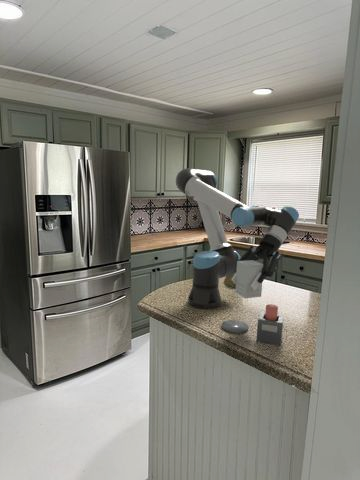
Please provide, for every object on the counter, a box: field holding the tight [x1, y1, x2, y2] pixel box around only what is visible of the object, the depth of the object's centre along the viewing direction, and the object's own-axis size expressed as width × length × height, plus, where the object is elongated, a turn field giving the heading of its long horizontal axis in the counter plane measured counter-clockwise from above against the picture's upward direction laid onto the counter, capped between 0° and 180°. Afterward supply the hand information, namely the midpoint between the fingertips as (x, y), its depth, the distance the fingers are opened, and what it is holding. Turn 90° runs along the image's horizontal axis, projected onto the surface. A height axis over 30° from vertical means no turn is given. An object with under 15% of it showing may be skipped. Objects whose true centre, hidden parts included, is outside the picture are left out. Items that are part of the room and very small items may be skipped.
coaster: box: [221, 319, 249, 335], centre depth 121 cm, size 10×10×1 cm
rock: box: [223, 274, 236, 289], centre depth 174 cm, size 11×9×10 cm
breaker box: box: [256, 311, 285, 346], centre depth 112 cm, size 8×7×8 cm
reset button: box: [264, 303, 279, 321], centre depth 111 cm, size 4×4×7 cm
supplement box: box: [234, 260, 263, 299], centre depth 121 cm, size 7×7×13 cm
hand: (242, 285), depth 119 cm, fingers closed on supplement box, 9 cm apart
